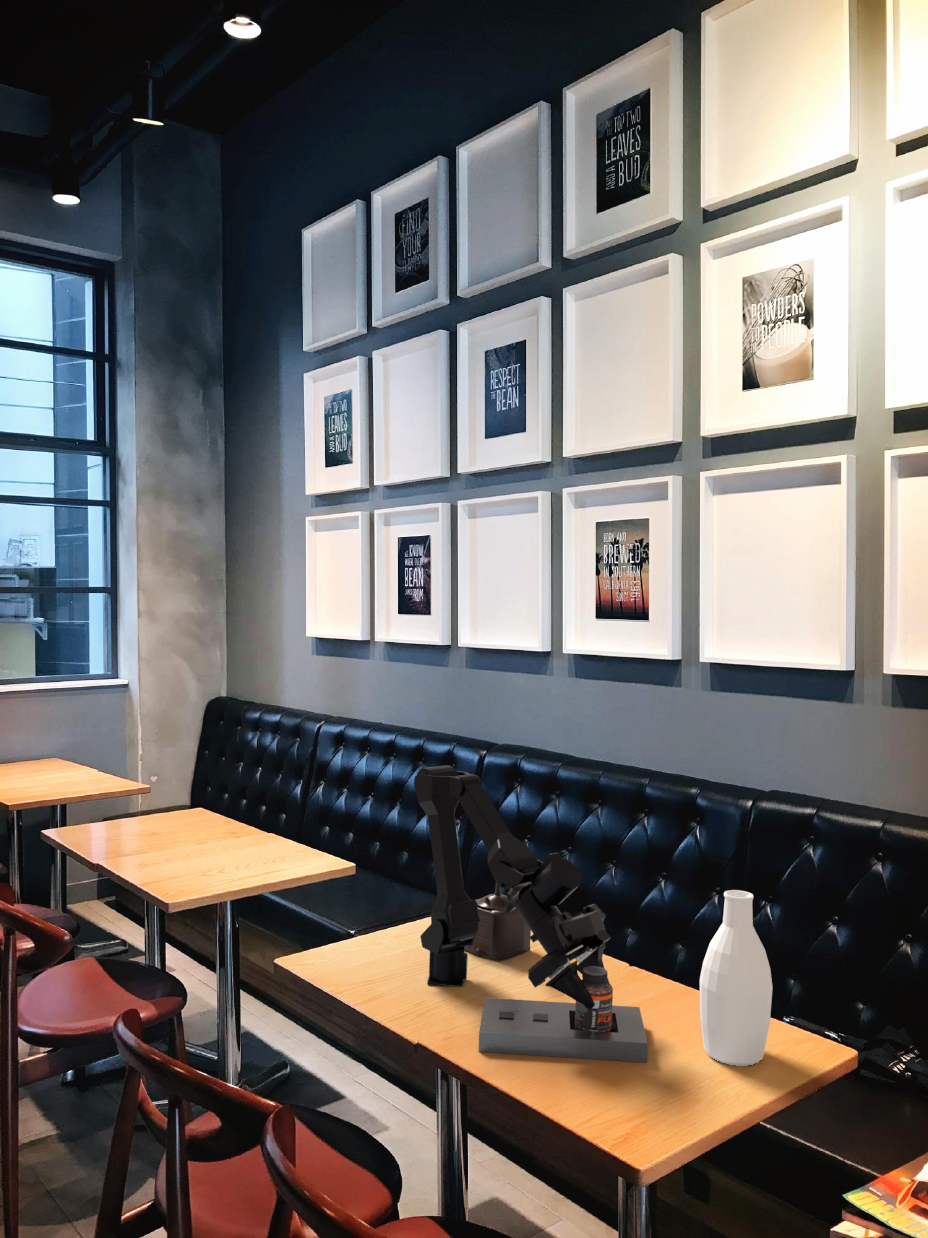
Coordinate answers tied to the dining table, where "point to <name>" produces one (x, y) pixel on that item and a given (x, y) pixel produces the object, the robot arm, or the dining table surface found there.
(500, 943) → the brown coffee grinder
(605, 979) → the supplement bottle
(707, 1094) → the dining table surface
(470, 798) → the robot arm
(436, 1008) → the dining table surface
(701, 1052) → the dining table surface
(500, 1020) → the grey fixture plate
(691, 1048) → the dining table surface
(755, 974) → the bottle
